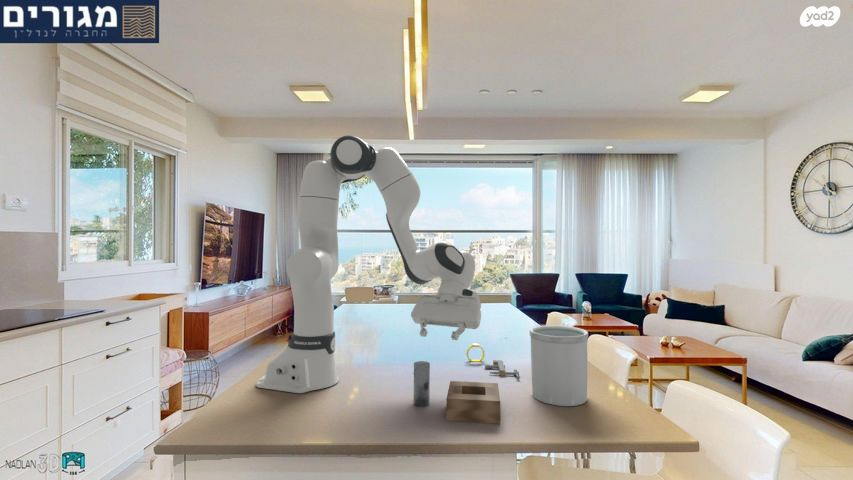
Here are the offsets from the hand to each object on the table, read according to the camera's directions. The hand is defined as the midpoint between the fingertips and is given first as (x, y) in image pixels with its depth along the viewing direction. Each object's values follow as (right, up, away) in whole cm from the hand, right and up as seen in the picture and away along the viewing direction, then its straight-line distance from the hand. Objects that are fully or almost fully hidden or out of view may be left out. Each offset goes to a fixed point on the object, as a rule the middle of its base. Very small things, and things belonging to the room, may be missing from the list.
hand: (438, 337), depth 112 cm
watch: (+14, -15, +29) cm, 35 cm away
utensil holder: (+32, -15, -4) cm, 35 cm away
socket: (+8, -14, -14) cm, 22 cm away
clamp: (+20, -16, +17) cm, 31 cm away
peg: (-4, -14, -9) cm, 18 cm away
